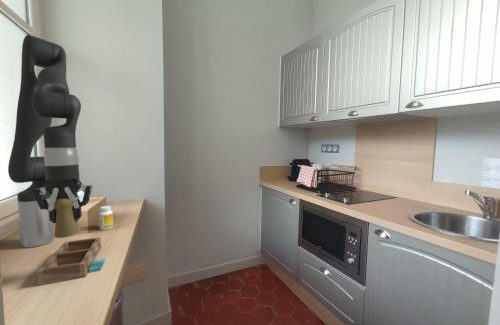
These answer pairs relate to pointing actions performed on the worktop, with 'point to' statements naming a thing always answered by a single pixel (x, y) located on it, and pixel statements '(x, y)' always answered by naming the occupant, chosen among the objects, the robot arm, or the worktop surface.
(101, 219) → the supplement bottle
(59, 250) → the wooden divided tray
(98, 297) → the worktop surface
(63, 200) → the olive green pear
